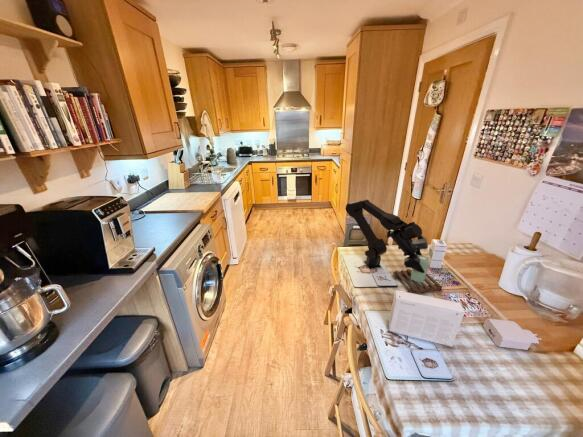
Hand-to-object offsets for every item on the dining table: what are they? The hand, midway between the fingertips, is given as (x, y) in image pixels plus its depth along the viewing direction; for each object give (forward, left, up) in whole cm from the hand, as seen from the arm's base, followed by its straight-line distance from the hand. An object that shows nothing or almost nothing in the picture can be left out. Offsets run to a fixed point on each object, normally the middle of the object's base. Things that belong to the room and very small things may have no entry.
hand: (423, 267), depth 107 cm
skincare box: (-19, -24, -10) cm, 32 cm away
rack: (-1, +1, -10) cm, 10 cm away
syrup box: (+18, +12, -10) cm, 24 cm away
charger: (+13, -33, -10) cm, 37 cm away
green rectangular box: (-1, +1, -7) cm, 7 cm away
